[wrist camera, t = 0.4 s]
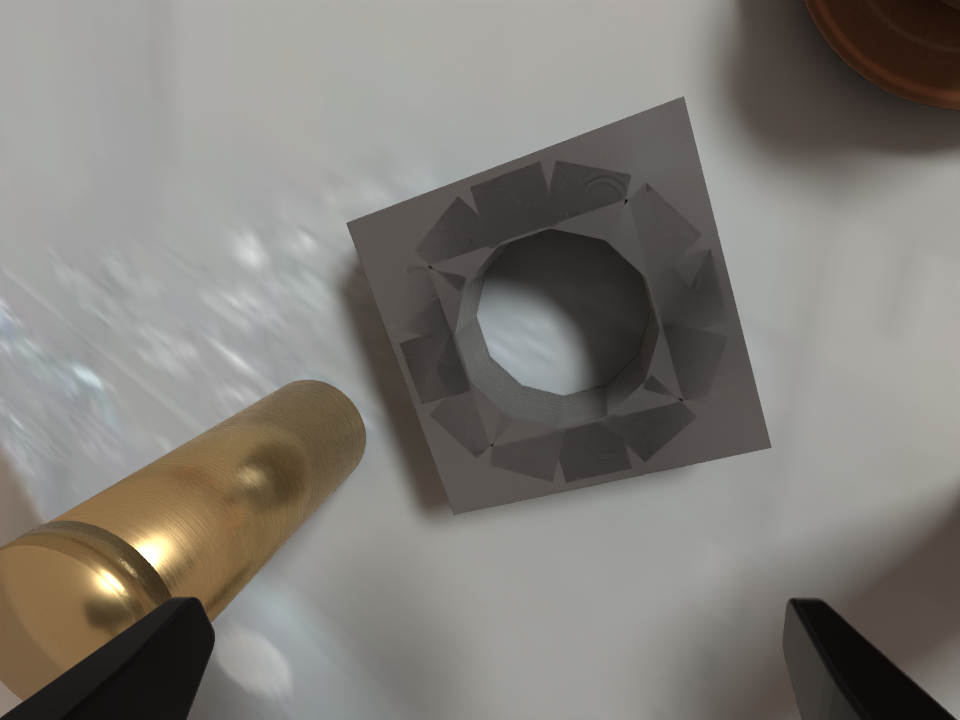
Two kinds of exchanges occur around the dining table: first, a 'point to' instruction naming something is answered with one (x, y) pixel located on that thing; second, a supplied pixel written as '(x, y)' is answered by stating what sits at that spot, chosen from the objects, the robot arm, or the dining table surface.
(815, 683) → the robot arm
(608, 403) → the block
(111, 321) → the dining table surface
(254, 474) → the gold metallic cylinder
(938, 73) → the cup and saucer
